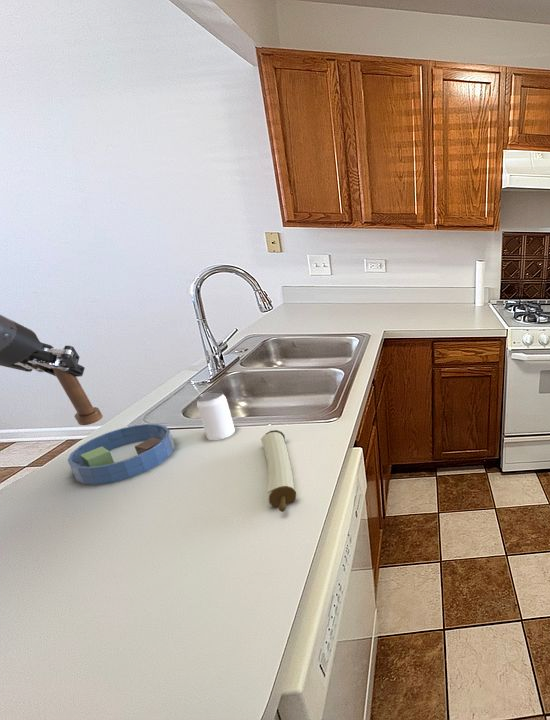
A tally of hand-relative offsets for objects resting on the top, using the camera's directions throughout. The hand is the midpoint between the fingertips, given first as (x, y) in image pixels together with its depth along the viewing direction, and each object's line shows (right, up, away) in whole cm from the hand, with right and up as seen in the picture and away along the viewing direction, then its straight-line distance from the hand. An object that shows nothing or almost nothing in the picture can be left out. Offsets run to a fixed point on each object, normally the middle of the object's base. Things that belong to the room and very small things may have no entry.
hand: (72, 372), depth 83 cm
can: (+16, -18, +23) cm, 33 cm away
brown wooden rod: (0, -10, +4) cm, 11 cm away
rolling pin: (+39, -24, +8) cm, 47 cm away
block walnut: (+6, -21, +13) cm, 26 cm away
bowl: (+1, -22, +13) cm, 25 cm away
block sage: (-3, -22, +10) cm, 25 cm away
